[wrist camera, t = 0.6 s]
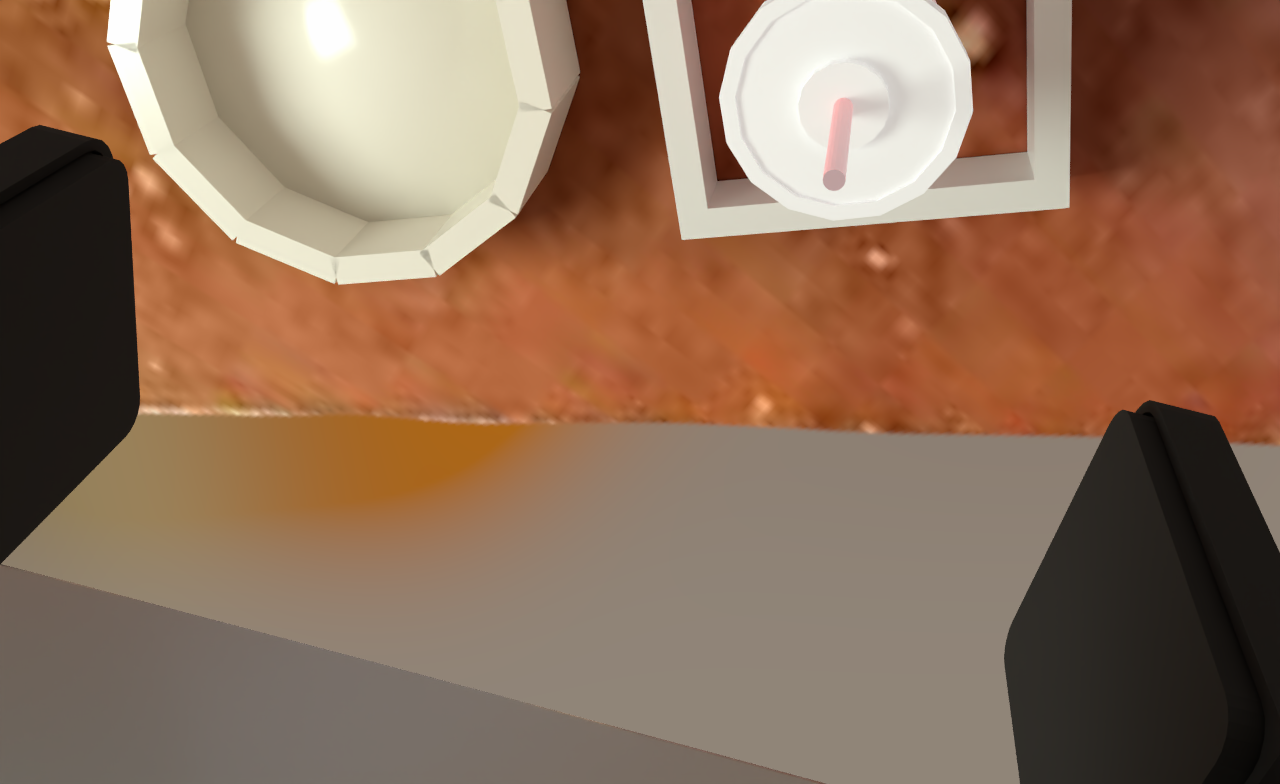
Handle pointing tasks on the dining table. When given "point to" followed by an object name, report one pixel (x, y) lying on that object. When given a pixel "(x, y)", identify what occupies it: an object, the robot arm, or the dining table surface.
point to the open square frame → (955, 193)
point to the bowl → (351, 120)
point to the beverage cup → (846, 102)
